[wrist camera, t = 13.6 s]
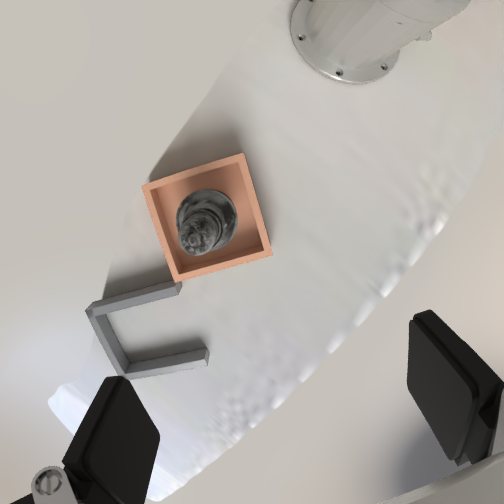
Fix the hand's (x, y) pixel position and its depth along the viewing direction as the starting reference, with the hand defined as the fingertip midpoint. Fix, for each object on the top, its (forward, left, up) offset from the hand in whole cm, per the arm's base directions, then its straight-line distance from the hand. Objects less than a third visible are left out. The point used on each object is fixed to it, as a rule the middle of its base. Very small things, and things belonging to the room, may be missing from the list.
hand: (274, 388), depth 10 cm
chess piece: (+4, -2, -26) cm, 26 cm away
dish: (+4, -2, -26) cm, 26 cm away
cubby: (+14, +9, -26) cm, 31 cm away
